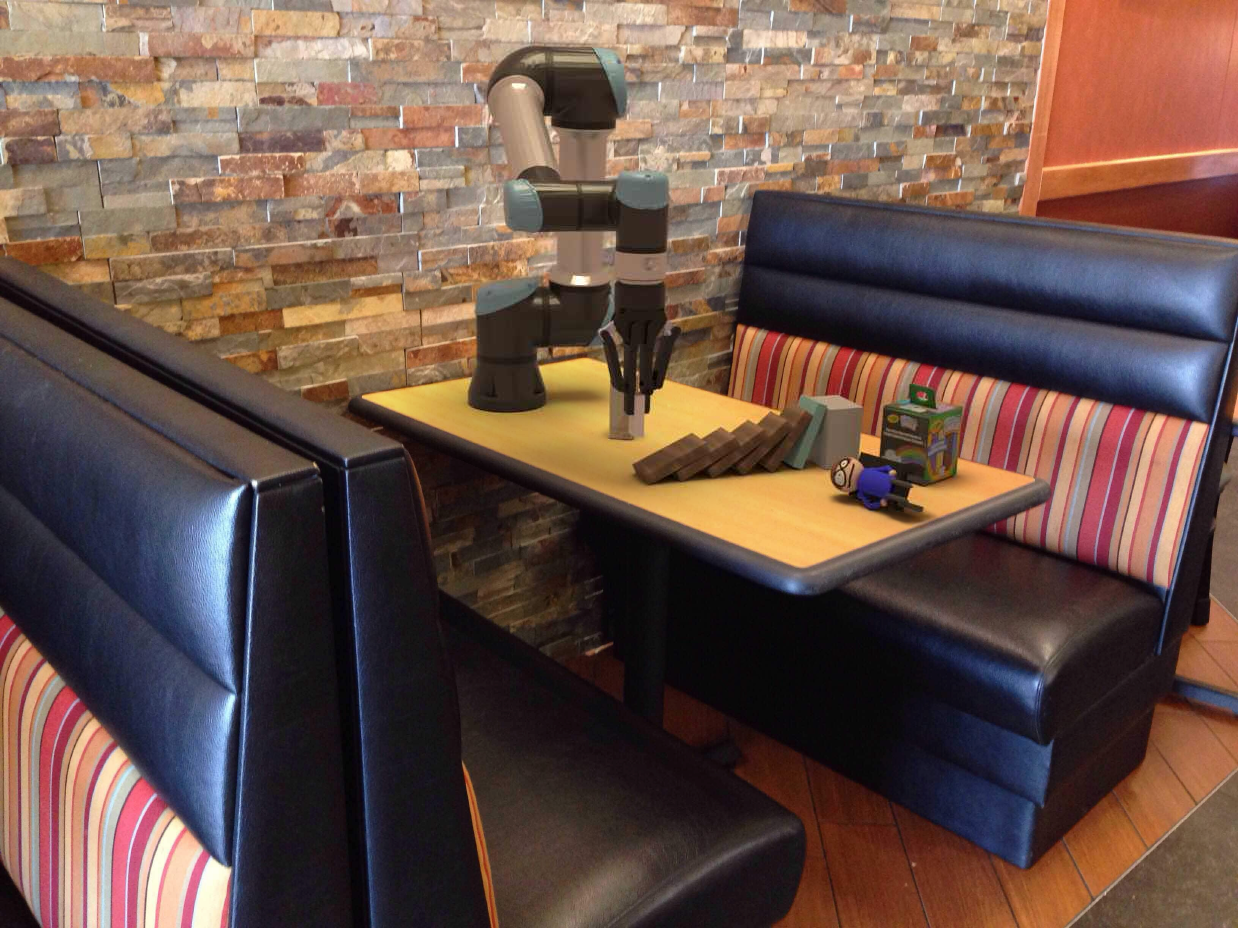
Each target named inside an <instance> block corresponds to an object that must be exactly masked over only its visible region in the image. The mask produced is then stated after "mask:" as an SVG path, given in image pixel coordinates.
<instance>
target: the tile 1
mask: <svg viewBox="0 0 1238 928" xmlns="http://www.w3.org/2000/svg"><path fill="white" fill-rule="evenodd" d="M708 453H710V450H709V448H708V445H707V443H706V442H705V441H703V440H702V437H701V438H700V437H699V436H698V435H696V434H695V433H693V432H691V433H689V434H687V435H684V436H683V437H681V438H679V439H677V440H675V441H674V442H672V443H670V444H668V445H666V446H664V447H662V448H661V449H658V450H656V451H655V452H653V453H651V454H648V455H647V456H646V457H643V458H642V459H639V460H638V461H636V462H634V463H632V465H631V466H632V467H633V469H634V472H635V475H636V476H638V477H639V478H640V479H641V480H642V481H644V482H645V483H646V485H648V486H650V485H652V484H654V483H657V482H658V481H659V480H662V479H663V478H665V477H668V476H669V475H672V474H671V473H673V472H675V471H677V470H678V469H680V468H682V467H684V466H686V465H688V464H690V463H692V462H693V461H695V460H697V459H699V458H701V457H703V456H705V455H706V454H708Z"/></svg>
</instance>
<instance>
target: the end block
mask: <svg viewBox="0 0 1238 928" xmlns="http://www.w3.org/2000/svg"><path fill="white" fill-rule="evenodd" d="M810 397H811V398H813V399H815V400H817V401H819V402H821V403H823V404H825V405H827V408H826V411H825V413H824V416H823V418H822V421H821V423H820V426H819V428H818V431H817V434H816V436H815V439H814V441H813V444H812V446H811V449H810V451H809V454H808V456H807V459H806V460H808V461H811V462H812V463H814V464H815V465H817V466H818V467H820V468H822V469H824V470H831V469H832V467H833V465H834V464H835V463H836V462H837V461H838V460H840V459H842V458H853V459H856V460H859V457H860V446H861V436H862V435H861V434H862V426H863V425H862V424H863V415H864V414H863V413H864V406H862V405H859V404H857V403H855V402H853V401H851V400H850V399H847V398H845V397H843V396H840V395H838V394H832V395H831V394H829V395H820V396H819V395H818V396H810Z"/></svg>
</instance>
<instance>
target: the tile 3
mask: <svg viewBox="0 0 1238 928" xmlns="http://www.w3.org/2000/svg"><path fill="white" fill-rule="evenodd" d="M729 432H730V433H731V434H733V435H734V436H736V437H737V440H738V442H739V444H740V447H738V448H736V449H735V450H733V451H731V452H730V453H728V454H727V455H725V456H723V457H722V458H720V459H718V460H717V461H715V462H713V463H712V464H710V465H708V466H707V467H705V468H703V469H702V470H701V471H703V472H704V473H705V474H706V475H708V476H709V477H710V478H712V479H714V478H716V477H717V476H718V475H720V474H721V473H722V472H724V471H726V470H727V469H729V468H730V466H731V465H732V464H734V463H735V462H737V461H738V460H739V459H741V458H742V457H743V456H745V455H746V454H747V453H749V452H750V451H752V450H753V449H754V448H756V447H757V446H758V445H760V444H761V443H763V442H764V441H765V440H767V439H768V438H769V437H768V436H767V434H766V432H765V430H764V429H763V428H761V427H760V426H758V425H756V423H754V422H752V421H751V420H750V419H747V420H745V421H744V422H743V423H741V424H740V425H738V426H737V427H736V428H734V429H733V430H732V431H729Z"/></svg>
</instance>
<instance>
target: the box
mask: <svg viewBox="0 0 1238 928" xmlns="http://www.w3.org/2000/svg"><path fill="white" fill-rule="evenodd" d="M621 372H622V377H623V370H621ZM609 379H610V378H609ZM609 381H610V382H609V385H610V386H609V419H608V420H609V425H608V427H609V428H608V431H609V432H608V438H609V439H619V440H634V438H635V437H634V436H632V435H631V434H630V433H629V415H627V414H625V412H624V393H623V392H619V391H617V390H616V389H614V388H613V387H612V384H611V379H610V380H609ZM636 391H639V392H640V389H639V371H636Z"/></svg>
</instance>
